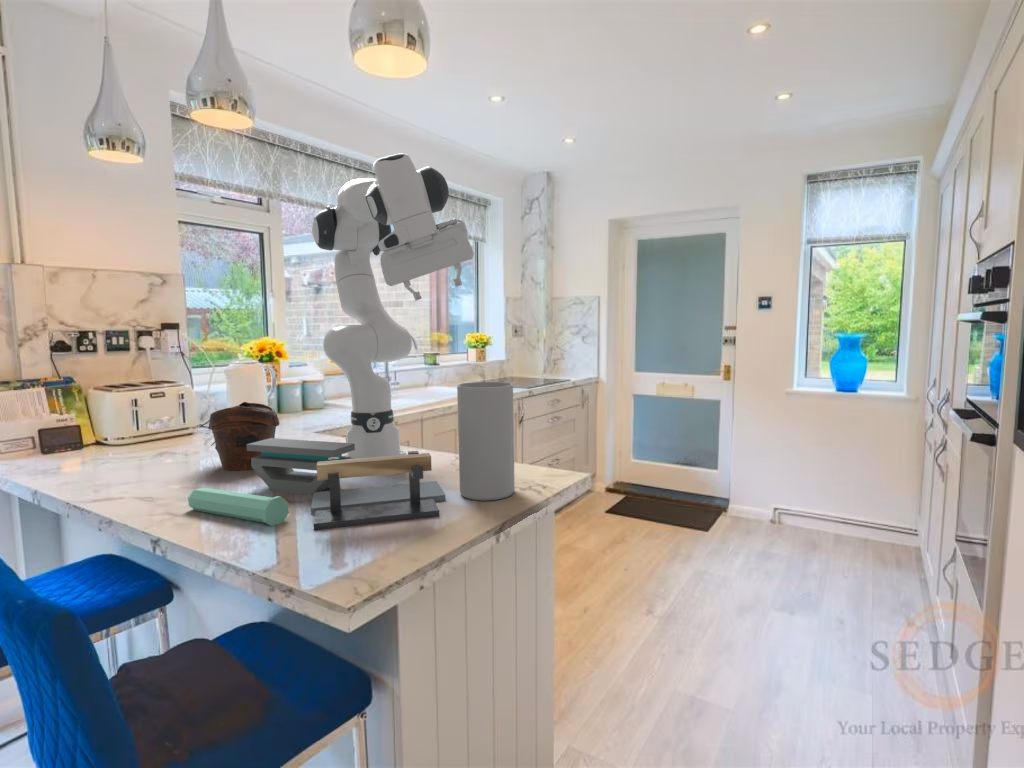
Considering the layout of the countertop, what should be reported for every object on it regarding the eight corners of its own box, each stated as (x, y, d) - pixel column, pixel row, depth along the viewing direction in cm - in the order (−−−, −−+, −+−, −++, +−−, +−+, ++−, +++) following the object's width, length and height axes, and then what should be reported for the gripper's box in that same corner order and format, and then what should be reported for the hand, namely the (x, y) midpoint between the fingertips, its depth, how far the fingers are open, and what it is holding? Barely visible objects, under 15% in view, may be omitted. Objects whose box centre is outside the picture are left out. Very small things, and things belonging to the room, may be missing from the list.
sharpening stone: (249, 488, 136) (246, 444, 135) (273, 480, 143) (270, 438, 142) (335, 497, 128) (333, 450, 127) (356, 488, 135) (354, 443, 134)
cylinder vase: (521, 487, 133) (519, 382, 130) (504, 503, 121) (502, 388, 119) (472, 484, 137) (469, 381, 134) (451, 499, 125) (448, 387, 122)
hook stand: (315, 516, 115) (312, 458, 114) (433, 504, 122) (431, 449, 120) (313, 529, 107) (310, 468, 106) (439, 516, 114) (437, 457, 113)
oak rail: (318, 476, 111) (317, 461, 111) (429, 467, 117) (429, 452, 117) (317, 480, 108) (316, 465, 108) (431, 470, 115) (431, 456, 114)
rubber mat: (314, 497, 128) (313, 492, 128) (436, 485, 136) (436, 480, 136) (311, 514, 116) (310, 508, 116) (445, 500, 124) (445, 494, 124)
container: (186, 482, 120) (269, 494, 109) (210, 486, 125) (292, 498, 114) (178, 511, 119) (261, 525, 107) (203, 513, 124) (285, 527, 113)
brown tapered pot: (261, 453, 174) (256, 396, 172) (294, 463, 161) (290, 401, 159) (199, 466, 160) (194, 403, 158) (230, 477, 147) (225, 410, 145)
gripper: (460, 217, 125) (480, 277, 129) (372, 246, 123) (395, 306, 127) (463, 214, 119) (484, 277, 123) (371, 245, 117) (395, 308, 121)
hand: (438, 292), depth 125 cm, fingers open, 8 cm apart
